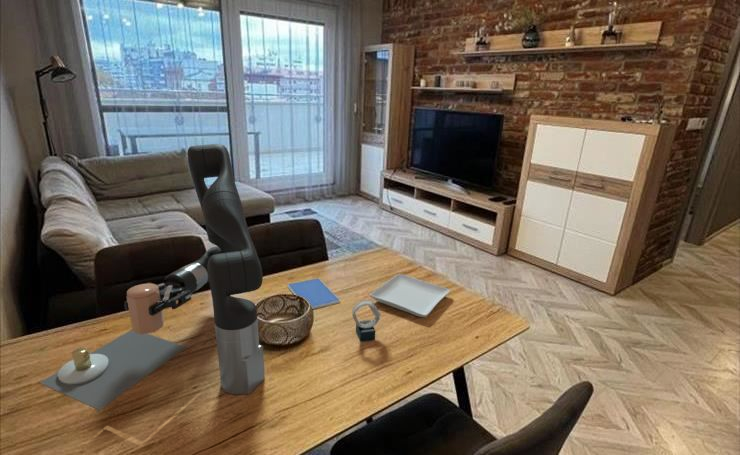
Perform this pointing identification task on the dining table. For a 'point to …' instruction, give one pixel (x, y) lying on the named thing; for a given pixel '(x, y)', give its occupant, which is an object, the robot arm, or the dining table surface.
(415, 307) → the salad plate
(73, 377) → the saucer
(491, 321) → the dining table surface
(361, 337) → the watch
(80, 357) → the brass weight
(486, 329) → the dining table surface
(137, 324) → the domed octagonal post
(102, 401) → the rubber mat
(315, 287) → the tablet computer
